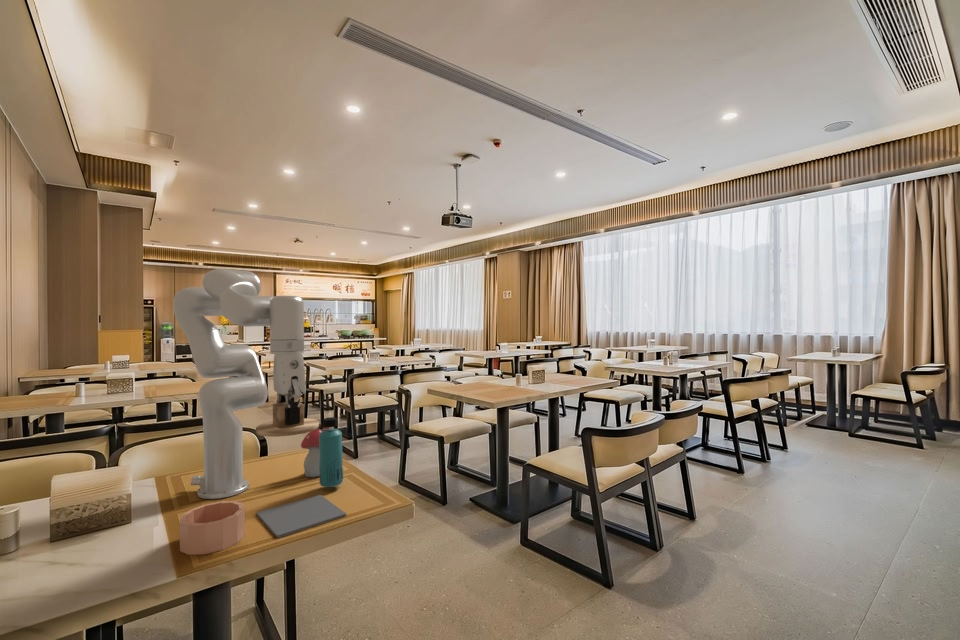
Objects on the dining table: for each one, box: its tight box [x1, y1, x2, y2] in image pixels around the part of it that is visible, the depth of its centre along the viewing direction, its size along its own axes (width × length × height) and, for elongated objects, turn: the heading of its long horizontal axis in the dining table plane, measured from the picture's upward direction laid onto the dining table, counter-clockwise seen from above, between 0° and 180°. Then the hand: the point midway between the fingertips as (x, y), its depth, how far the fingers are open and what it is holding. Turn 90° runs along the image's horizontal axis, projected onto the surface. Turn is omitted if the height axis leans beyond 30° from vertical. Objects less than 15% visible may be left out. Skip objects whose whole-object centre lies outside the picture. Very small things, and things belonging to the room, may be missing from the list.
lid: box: [255, 402, 320, 438], centre depth 106 cm, size 14×14×6 cm
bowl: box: [179, 500, 246, 556], centre depth 96 cm, size 12×12×6 cm
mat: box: [256, 494, 347, 539], centre depth 108 cm, size 16×16×1 cm
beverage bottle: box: [318, 417, 344, 488], centre depth 125 cm, size 6×7×20 cm
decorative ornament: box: [300, 426, 331, 478], centre depth 136 cm, size 9×7×15 cm
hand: (288, 421), depth 106 cm, fingers closed on lid, 5 cm apart
